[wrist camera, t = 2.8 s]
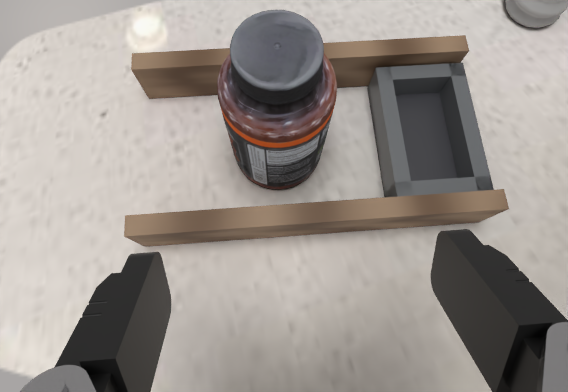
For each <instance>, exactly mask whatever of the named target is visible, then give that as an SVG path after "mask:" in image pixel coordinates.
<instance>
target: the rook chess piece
mask: <svg viewBox="0 0 568 392" xmlns="http://www.w3.org/2000/svg"><path fill="white" fill-rule="evenodd" d="M505 2H506V10H507V12H508V14H509V15H510V17H511V18H512V19H513V20H514V21H516V22H517V23H518V24H521V25H523V26H526V27H532V28H539V27H544V26H547V25H551V24H553V23H554V22H555V21H556V20H557V19H559V17H560V14H561V13H562V12H564V11H565V10H566V9H567V7H568V0H505Z"/></svg>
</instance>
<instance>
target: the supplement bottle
mask: <svg viewBox="0 0 568 392" xmlns="http://www.w3.org/2000/svg"><path fill="white" fill-rule="evenodd" d="M217 93H218V99H219V103H220V106H221V110H222V114H223V117H224V121H225V124H226V128H227V130H228V134H229V137H230V141H231V145H232V148H233V152H234V155H235V158H236V160H237V163H238V165H239V167H240V169H241V170H242V172H243V173H244V174H245V175H246V177H247V178H249V179H250V180H251V181H252V182H254V183H256V184H258V185H260V186H263V187H266V188H270V189H285V188H290V187H293V186H295V185H298V184H300V183H301V182H303V181H304V180H305V179H307V178H308V177H309V176H310V174H311V173H312V172H313V171H314V169H315V168H316V166H317V164H318V161H319V159H320V156H321V152H322V149H323V145H324V142H325V138H326V135H327V131H328V128H329V124H330V120H331V116H332V113H333V109H334V105H335V101H336V93H337V82H336V75H335V72H334V69H333V67H332V64H331V63H330V61H329V59H328V58H327V56H326V55H325V54H324V45H323V41H322V38H321V35H320V33H319V31H318V30H317V29H316V28H315V26H314V25H313V24H312V23H311V22H310V21H309V20H307V19H306V18H304V17H303V16H301V15H299V14H296V13H294V12H290V11H286V10H268V11H263V12H260V13H257V14H254V15H252V16H251V17H249V18H247V19H246V20H244V21H243V22H242V23H241V25H240V26H239V27H238V28H237V29H236V31H235V33H234V35H233V37H232V40H231V44H230V54H229V55H228V56H227V58H226V59H225V61H224V62H223V64H222V66H221V69H220V71H219V75H218V79H217Z"/></svg>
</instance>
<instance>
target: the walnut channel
mask: <svg viewBox="0 0 568 392" xmlns="http://www.w3.org/2000/svg"><path fill="white" fill-rule="evenodd" d="M323 45H324V54H325V55H326V56H327V58H328V59H329V61H330V63H331V64H332V67H333V69H334V72H335V75H336V82H337V88H338V87H355V86H369V83H370V81H371V78H372V76H373V73H374V71H375V68H378V67H396V66H413V65H431V64H448V63H460V62H461V61H462V60H463V58H464V57H465V56H466V54H467V53H468V52H469V48H468V44H467V40H466V36H465V35H464V36H446V37H428V38H409V39H391V40H373V41H354V42H336V43H323ZM229 54H230V48H226V49H207V50H189V51H171V52H152V53H134V54H132V67H131V70H132V71H133V73H134V75H135V76H136V78H137V80H138V81H139V83H140V85H141V86H142V88H143V90H144V91H145V93H146V94H147V96H148V98H149V99H151V98H168V97H185V96H202V95H218V93H217V79H218V75H219V71H220V69H221V66H222V64H223V62H224V61H225V59H226V58H227V56H228V55H229ZM508 209H509V207H508V203H507V199H506V196H505V192H504V189H500V190H485V191H471V192H457V193H442V194H428V195H413V196H399V197H385V198H370V199H356V200H342V201H327V202H313V203H299V204H284V205H270V206H256V207H241V208H227V209H212V210H198V211H184V212H169V213H155V214H141V215H126V216H125V231H124V237H126V238H129V239H131V240H133V241H135V242H137V243H139V244H141V245H143V246H159V245H172V244H186V243H200V242H214V241H227V240H241V239H255V238H269V237H282V236H296V235H310V234H324V233H337V232H351V231H365V230H379V229H392V228H406V227H420V226H434V225H447V224H461V223H475V222H480V221H483V220H485V219H487V218H489V217H492V216H494V215H496V214H498V213H501V212H503V211H505V210H508Z"/></svg>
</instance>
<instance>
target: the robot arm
mask: <svg viewBox="0 0 568 392" xmlns="http://www.w3.org/2000/svg"><path fill="white" fill-rule="evenodd" d="M431 284H432V288H433V291H434V293H435V295H436V297H437V299H438V300H439V302H440V304H441V306H442V307H443V309H444V311H445V312H446V314H447V316H448V317H449V319H450V321H451V322H452V324H453V326H454V328H455V329H456V331H457V333H458V334H459V336H460V338H461V339H462V341H463V343H464V345H465V346H466V348H467V350H468V351H469V353H470V355H471V356H472V358H473V360H474V361H475V363H476V365H477V367H478V368H479V370H480V372H481V373H482V375H483V377H484V378H485V380H486V382H487V383H488V385H489V387H490V389H491V390H492V392H568V320H567V319H566V318H565V317H564V316H563V315H562V314H561V313H560V312H559V311H558V310H557V309H556V308H555V306H554V305H553V304H552V303H551V302H550V301H549V300H548V299H547V298H546V297H545V296H544V295H543V294H542V293H541V292H540V291H539V290H538V288H537V287H536V286H535V285H534V284H533V283H532V282H529V279H528V278H527V277H526V276H525V275H524V274H523V273H522V272H521V271H519V268H518V267H517V266H516V265H515V264H514V263H513V262H512V261H511V260H510V259H509V258H508V257H507V256H506V255H505V254H503V253H501V252H500V251H498V250H496V249H495V248H493V247H491V246H490V245H483V244H482V243H481V242H480V241H479V240H478V238H477V237H476V236H475V235H474V234H473V233H472V232H471V231H470V230H468V229H464V230H450V231H441V232H440V233H439V234H438V236H437V241H436V247H435V253H434V258H433V264H432V270H431ZM170 313H171V294H170V290H169V286H168V282H167V278H166V273H165V269H164V265H163V261H162V257H161V255H160V253H159V252H150V253H137V254H130V255H129V257H128V259H127V261H126V263H125V265H124V267H123V270H122V272H121V273H112V274H110V275H109V276H108V277H107V278H106V279H105V280H104V281H103V282H102V283H101V284H100V285H99V286H98V287H97V288H96V290H95V292H94V294H93V295H92V297H91V299H90V301H89V305H87V307H86V309H85V311H84V312H83V314H82V315H83V317H82V318H80V320H79V322H78V324H77V326H76V328H75V329H74V331H73V333H72V335H71V337H70V339H69V341H68V343H67V345H66V346H65V348H64V350H63V352H62V354H61V356H60V358H59V360H58V362H57V364H56V365H55V367H54V368H52V369H49V370H47V371H45V372H43V373H41V374H40V375H38V376H37V377H35V378H34V379H32V380H31V381H30V382H29V383H28V384H27V385H26V386H25V387H24V388H23V389H22V390H21V391H20V392H150V391H151V387H152V383H153V379H154V376H155V372H156V368H157V364H158V360H159V356H160V352H161V349H162V345H163V341H164V337H165V333H166V329H167V325H168V322H169V318H170Z"/></svg>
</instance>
